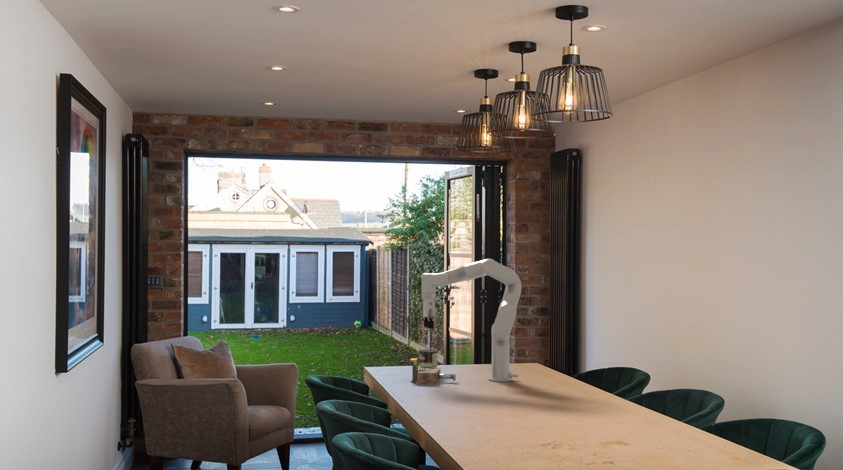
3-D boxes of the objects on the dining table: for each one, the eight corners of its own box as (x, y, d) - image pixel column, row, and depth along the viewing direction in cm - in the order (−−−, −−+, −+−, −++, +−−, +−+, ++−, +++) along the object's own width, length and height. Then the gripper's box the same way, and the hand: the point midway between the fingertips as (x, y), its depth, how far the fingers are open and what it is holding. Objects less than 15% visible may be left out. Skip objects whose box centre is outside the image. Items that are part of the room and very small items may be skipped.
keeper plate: (417, 369, 421) (417, 358, 421) (416, 371, 416) (416, 359, 416) (411, 369, 421) (411, 358, 422) (410, 371, 417) (410, 359, 417)
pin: (455, 380, 417) (455, 372, 417) (454, 381, 413) (455, 373, 414) (433, 379, 419) (433, 371, 419) (432, 380, 415) (432, 373, 415)
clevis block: (440, 379, 426) (440, 362, 426) (436, 384, 408) (436, 367, 408) (414, 378, 428) (415, 361, 428) (409, 384, 410) (409, 366, 410)
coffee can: (423, 378, 430) (423, 352, 430) (415, 375, 439) (416, 349, 439) (440, 376, 434) (440, 351, 434) (432, 374, 444) (432, 349, 444)
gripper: (438, 296, 420) (439, 329, 420) (432, 295, 437) (432, 326, 437) (425, 296, 418) (425, 329, 418) (418, 295, 435) (418, 326, 435)
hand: (428, 327), depth 427 cm, fingers open, 9 cm apart
